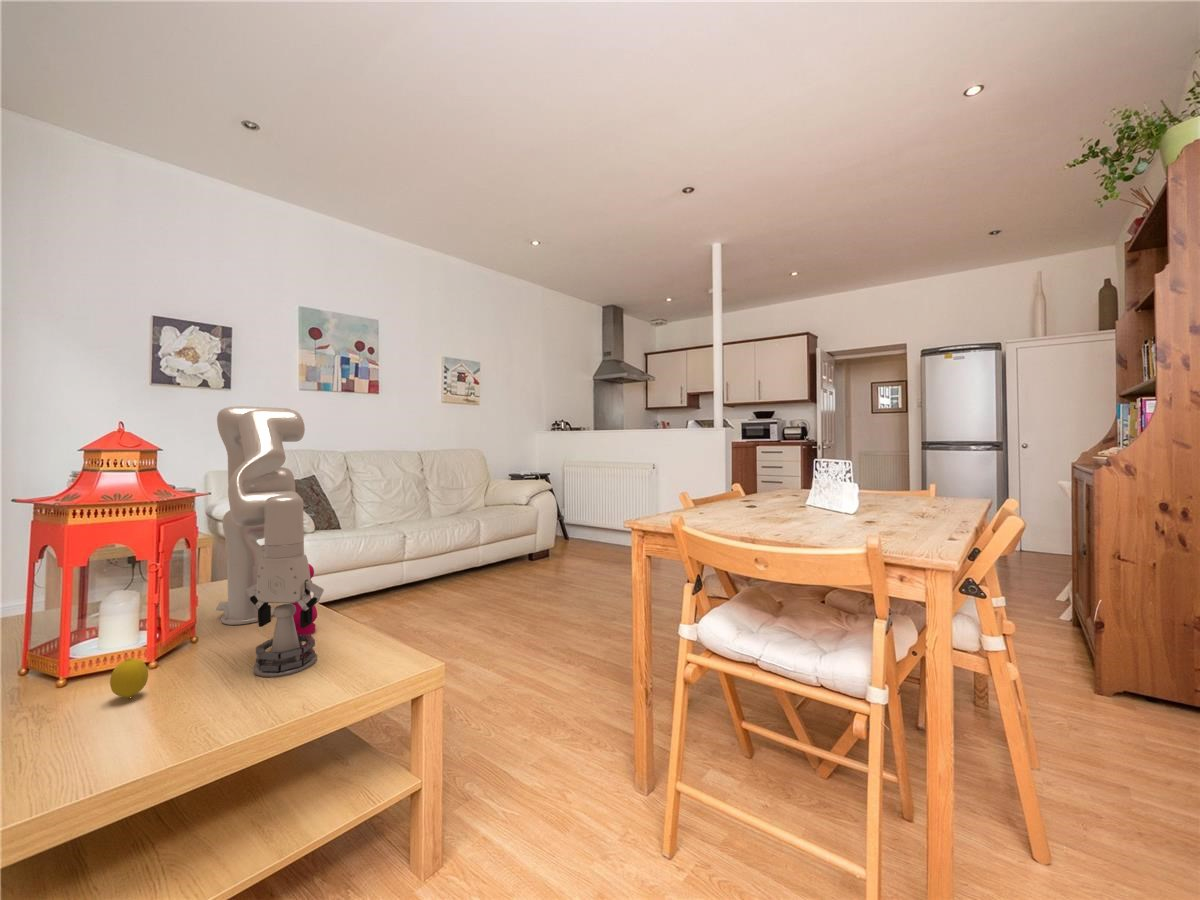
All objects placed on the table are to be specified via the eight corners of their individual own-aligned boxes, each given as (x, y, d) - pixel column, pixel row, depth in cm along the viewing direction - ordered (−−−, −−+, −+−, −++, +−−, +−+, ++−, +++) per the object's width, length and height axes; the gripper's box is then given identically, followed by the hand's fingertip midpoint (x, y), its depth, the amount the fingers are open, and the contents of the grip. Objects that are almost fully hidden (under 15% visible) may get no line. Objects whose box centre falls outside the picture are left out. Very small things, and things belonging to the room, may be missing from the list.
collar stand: (239, 676, 110) (238, 654, 110) (278, 652, 123) (277, 632, 123) (295, 678, 110) (294, 656, 110) (328, 653, 122) (328, 633, 122)
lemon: (118, 694, 103) (117, 655, 102) (153, 689, 105) (152, 650, 105) (104, 707, 98) (103, 666, 97) (141, 702, 100) (140, 661, 99)
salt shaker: (272, 658, 118) (271, 603, 117) (301, 654, 120) (300, 599, 120) (268, 669, 112) (267, 611, 112) (298, 664, 115) (297, 607, 114)
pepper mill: (323, 628, 138) (322, 554, 137) (305, 639, 131) (304, 561, 130) (298, 627, 138) (297, 553, 138) (279, 637, 131) (278, 560, 131)
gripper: (234, 553, 112) (236, 630, 113) (311, 555, 111) (312, 632, 112) (259, 545, 120) (260, 618, 120) (331, 547, 119) (332, 620, 119)
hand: (285, 625), depth 116 cm, fingers open, 9 cm apart
